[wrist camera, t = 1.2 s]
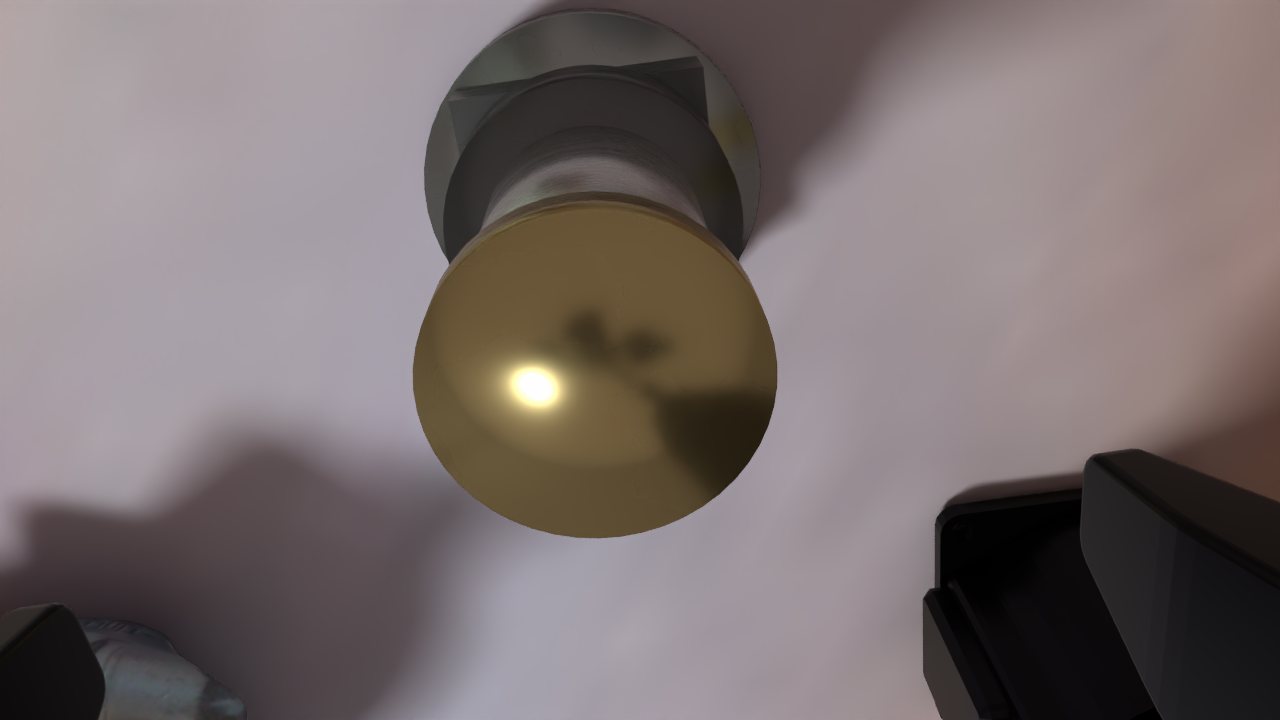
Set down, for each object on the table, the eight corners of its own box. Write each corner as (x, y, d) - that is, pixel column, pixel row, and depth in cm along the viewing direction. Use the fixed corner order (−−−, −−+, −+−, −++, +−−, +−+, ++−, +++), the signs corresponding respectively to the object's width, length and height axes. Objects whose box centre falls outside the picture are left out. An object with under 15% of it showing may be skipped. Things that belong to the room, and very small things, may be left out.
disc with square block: (740, -15, 19) (756, -3, 17) (765, 305, 21) (781, 344, 19) (397, 33, 19) (377, 49, 17) (465, 345, 21) (454, 387, 20)
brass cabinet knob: (719, 45, 17) (799, 144, 11) (742, 315, 19) (821, 537, 13) (426, 85, 17) (327, 207, 11) (483, 350, 19) (428, 588, 13)
